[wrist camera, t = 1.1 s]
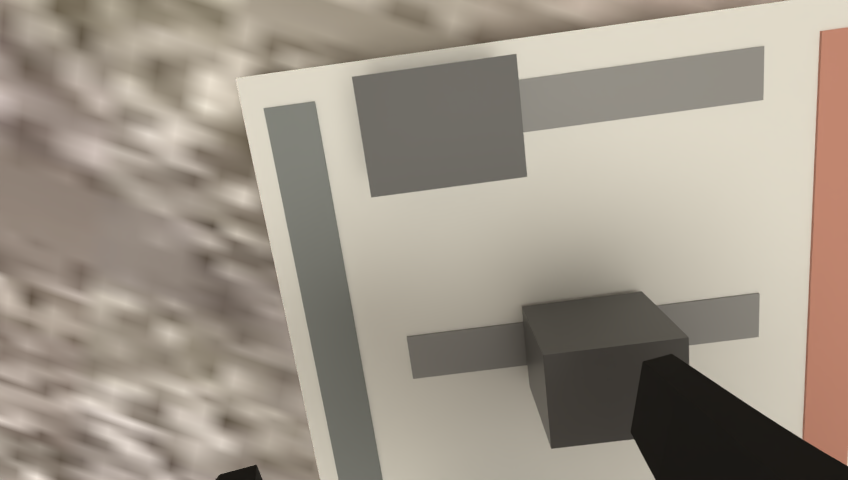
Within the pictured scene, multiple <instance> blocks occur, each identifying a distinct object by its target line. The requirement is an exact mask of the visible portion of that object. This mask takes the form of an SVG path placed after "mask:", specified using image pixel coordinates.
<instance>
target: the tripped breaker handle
mask: <svg viewBox="0 0 848 480" xmlns="http://www.w3.org/2000/svg"><path fill="white" fill-rule="evenodd" d="M522 313H523V324H524V334H525V344H526V355H527V365H528V376H529V386H530V389H531V392H532V395H533V398H534V401H535V403H536V406H537V409H538V412H539V415H540V418H541V421H542V424H543V427H544V430H545V432H546V435H547V438H548V441H549V444H550V447H551V449H555V448H563V447H572V446H580V445H589V444H598V443H606V442H615V441H623V440H632V439H634V438H633V436H632V434H631V432H630V431H631V426H632V420H633V414H634V408H635V403H636V397H637V391H638V385H639V380H640V374H641V368H642V362H643V361H646V360H650V359H654V358H657V357H661V356H665V355H669V354H673V355H675V356H676V357H678V358H679V359H681V360H682V361H684V362H685V363H687V364H688V365H689V337H688V336H687V335H686V334H685V333H684V332H683V331H682V330H681V329H680V328H679V327H678V326H677V325H676V324H675V323H674V322H673V321H672V320H671V319H670V318H669V317H668V316H667V315H666V314H664V313H663V312H662V311H661V310H660V309H659V308H658V307H657V306H656V305H655V304H654V303H653V302H652V301H651V300H650V299H649V298H648V297H647V296H646V295H645V294H644V293H643V292H642V291H640V292H632V293H624V294H616V295H608V296H600V297H592V298H584V299H576V300H568V301H560V302H552V303H544V304H536V305H528V306H522Z"/></svg>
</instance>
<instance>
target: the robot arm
mask: <svg viewBox="0 0 848 480" xmlns="http://www.w3.org/2000/svg"><path fill="white" fill-rule="evenodd" d="M630 432H631V434H632V436H633V438H634V440H635V442H636V444H637V446H638V448H639V450H640V452H641V454H642V456H643V457H644V459H645V461H646V463H647V465H648V467H649V469H650V470H651V472H652V474H653V476H654V478H655V480H848V466H847V465H845V464H843V463H842V462H840V461H838V460H836V459H835V458H833V457H831V456H830V455H828V454H826V453H824V452H823V451H821V450H819V449H818V448H816V447H815V446H813V445H811V444H810V443H808V442H806V441H805V440H803V439H801V438H800V437H798V436H797V435H795V434H793V433H792V432H790V431H789V430H787V429H785V428H784V427H782V426H781V425H779V424H778V423H776V422H774V421H773V420H771V419H770V418H768V417H767V416H765V415H763V414H762V413H760V412H759V411H757V410H756V409H754V408H753V407H751V406H750V405H748V404H747V403H745V402H744V401H742V400H741V399H739V398H738V397H736V396H735V395H733V394H732V393H730V392H729V391H727V390H726V389H724V388H723V387H721V386H720V385H718V384H717V383H715V382H714V381H712V380H711V379H709V378H708V377H706V376H705V375H703V374H702V373H700V372H699V371H697V370H696V369H694V368H693V367H691V366H690V365H688V364H687V363H685V362H684V361H682V360H681V359H679V358H678V357H676V356H675V355H673V354H669V355H665V356H661V357H657V358H654V359H650V360H646V361H643V362H642V368H641V374H640V380H639V385H638V391H637V397H636V403H635V408H634V414H633V420H632V426H631V431H630ZM216 480H262V477H261V475H260V472H259V470H258V467H257V465H254V466H250V467H246V468H243V469H239V470H235V471H232V472H228V473H224V474H220V475H219V476H218V477H217V479H216Z"/></svg>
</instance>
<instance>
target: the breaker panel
mask: <svg viewBox="0 0 848 480" xmlns="http://www.w3.org/2000/svg"><path fill="white" fill-rule="evenodd" d="M235 80H236V85H237V89H238V94H239V99H240V104H241V108H242V113H243V118H244V122H245V127H246V132H247V137H248V141H249V146H250V151H251V156H252V160H253V165H254V170H255V174H256V179H257V184H258V189H259V193H260V198H261V203H262V207H263V212H264V217H265V222H266V226H267V231H268V236H269V241H270V245H271V250H272V255H273V259H274V264H275V269H276V274H277V278H278V283H279V288H280V292H281V297H282V302H283V307H284V311H285V316H286V321H287V325H288V330H289V335H290V340H291V344H292V349H293V354H294V359H295V363H296V368H297V373H298V377H299V382H300V387H301V392H302V396H303V401H304V406H305V410H306V415H307V420H308V425H309V429H310V434H311V439H312V443H313V448H314V453H315V458H316V462H317V467H318V472H319V477H320V480H655V478H654V476H653V474H652V472H651V470H650V469H649V467H648V465H647V463H646V461H645V459H644V457H643V456H642V454H641V452H640V450H639V448H638V446H637V444H636V442H635V440H634V439H632V440H623V441H615V442H606V443H598V444H589V445H580V446H572V447H563V448H555V449H551V447H550V444H549V441H548V438H547V435H546V432H545V430H544V427H543V424H542V421H541V418H540V415H539V412H538V409H537V406H536V403H535V401H534V398H533V395H532V392H531V389H530V386H529V376H528V365H527V355H526V344H525V334H524V324H523V313H522V306H528V305H536V304H544V303H552V302H560V301H568V300H576V299H584V298H592V297H600V296H608V295H616V294H624V293H632V292H640V291H642V292H643V293H644V294H645V295H646V296H647V297H648V298H649V299H650V300H651V301H652V302H653V303H654V304H655V305H656V306H657V307H658V308H659V309H660V310H661V311H662V312H663V313H664V314H666V315H667V316H668V317H669V318H670V319H671V320H672V321H673V322H674V323H675V324H676V325H677V326H678V327H679V328H680V329H681V330H682V331H683V332H684V333H685V334H686V335H687V336H688V337H689V365H690V366H691V367H693V368H694V369H696V370H697V371H699V372H700V373H702V374H703V375H705V376H706V377H708V378H709V379H711V380H712V381H714V382H715V383H717V384H718V385H720V386H721V387H723V388H724V389H726V390H727V391H729V392H730V393H732V394H733V395H735V396H736V397H738V398H739V399H741V400H742V401H744V402H745V403H747V404H748V405H750V406H751V407H753V408H754V409H756V410H757V411H759V412H760V413H762V414H763V415H765V416H767V417H768V418H770V419H771V420H773V421H774V422H776V423H778V424H779V425H781V426H782V427H784V428H785V429H787V430H789V431H790V432H792V433H793V434H795V435H797V436H798V437H800V438H801V439H803V440H805V441H806V442H808V443H810V444H811V445H813V446H815V447H816V448H818V449H819V450H821V451H823V452H824V453H826V454H828V455H830V456H831V457H833V458H835V459H836V460H838V461H840V462H842V463H843V464H845V465H847V466H848V0H788V1H780V2H773V3H766V4H759V5H752V6H745V7H738V8H731V9H724V10H716V11H709V12H702V13H695V14H688V15H681V16H674V17H667V18H660V19H652V20H645V21H638V22H631V23H624V24H617V25H610V26H603V27H596V28H588V29H581V30H574V31H567V32H560V33H553V34H546V35H539V36H531V37H524V38H517V39H510V40H503V41H496V42H489V43H482V44H475V45H467V46H460V47H453V48H446V49H439V50H432V51H425V52H418V53H411V54H403V55H396V56H389V57H382V58H375V59H368V60H361V61H354V62H347V63H339V64H332V65H325V66H318V67H311V68H304V69H297V70H290V71H283V72H275V73H268V74H261V75H254V76H247V77H240V78H235Z"/></svg>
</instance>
